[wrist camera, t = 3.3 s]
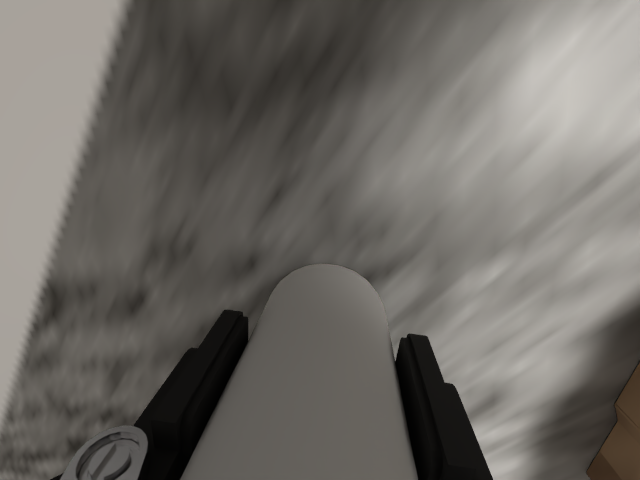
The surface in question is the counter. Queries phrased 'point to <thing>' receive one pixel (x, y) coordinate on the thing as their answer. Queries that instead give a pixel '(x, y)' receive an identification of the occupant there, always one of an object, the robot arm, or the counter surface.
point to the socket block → (622, 438)
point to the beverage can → (311, 390)
